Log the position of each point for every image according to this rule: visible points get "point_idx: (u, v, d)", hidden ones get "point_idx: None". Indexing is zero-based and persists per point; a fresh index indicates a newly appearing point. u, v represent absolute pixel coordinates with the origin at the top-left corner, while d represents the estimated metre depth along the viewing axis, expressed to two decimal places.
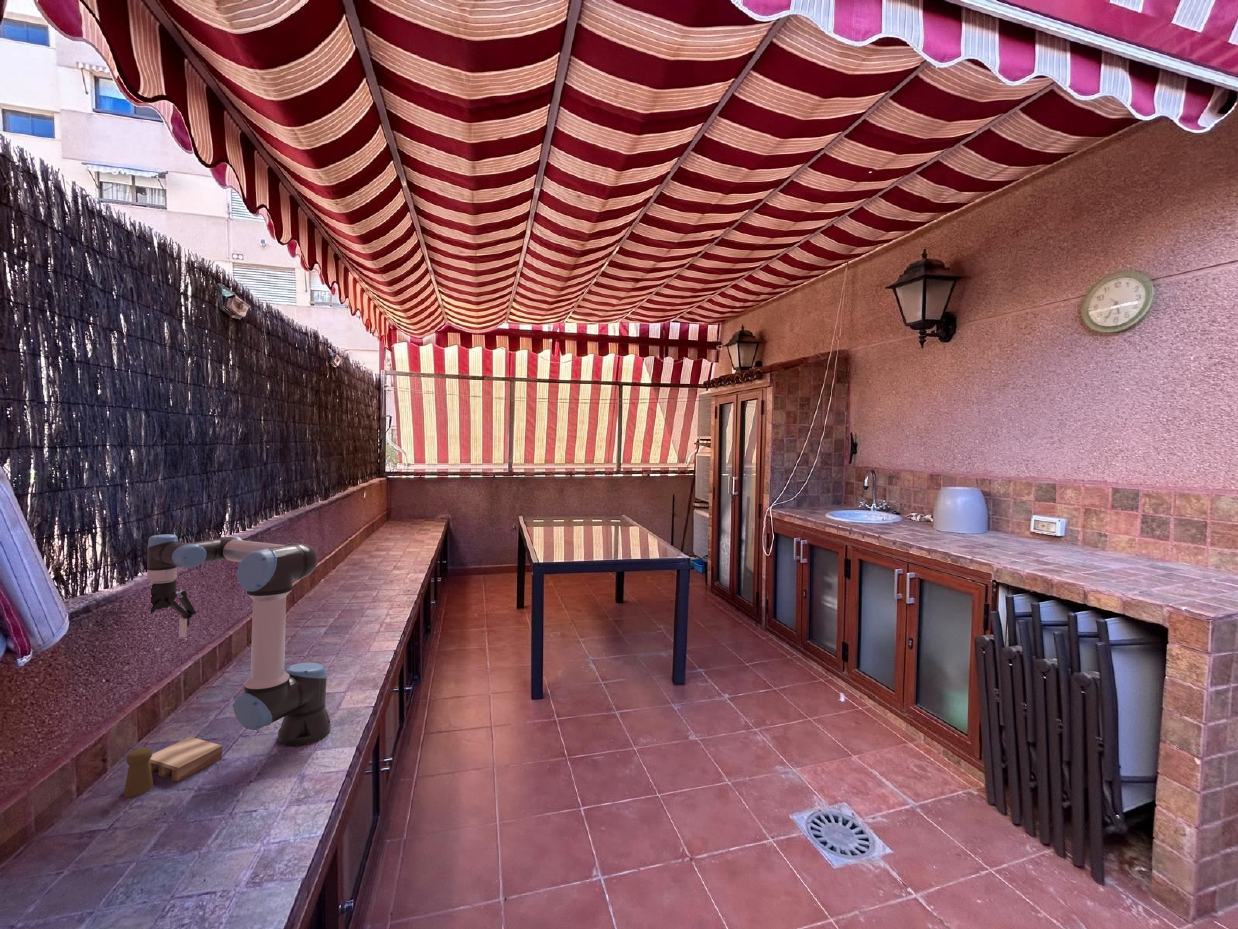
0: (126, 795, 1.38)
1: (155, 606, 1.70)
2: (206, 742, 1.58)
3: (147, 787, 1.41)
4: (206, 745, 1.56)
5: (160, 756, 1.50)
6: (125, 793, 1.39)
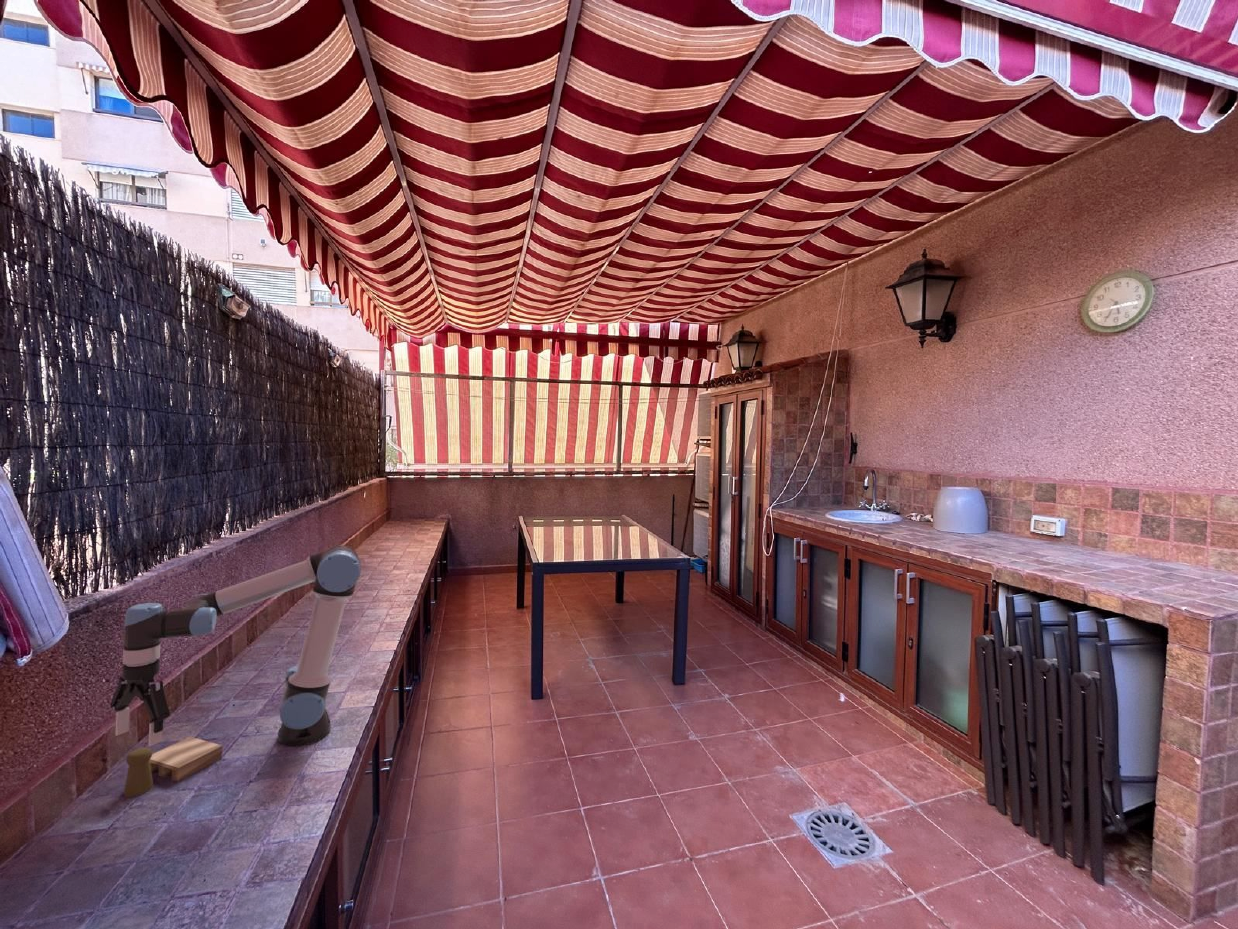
0: (126, 795, 1.38)
1: (126, 690, 1.40)
2: (206, 742, 1.58)
3: (147, 787, 1.41)
4: (206, 745, 1.56)
5: (160, 756, 1.50)
6: (125, 793, 1.39)
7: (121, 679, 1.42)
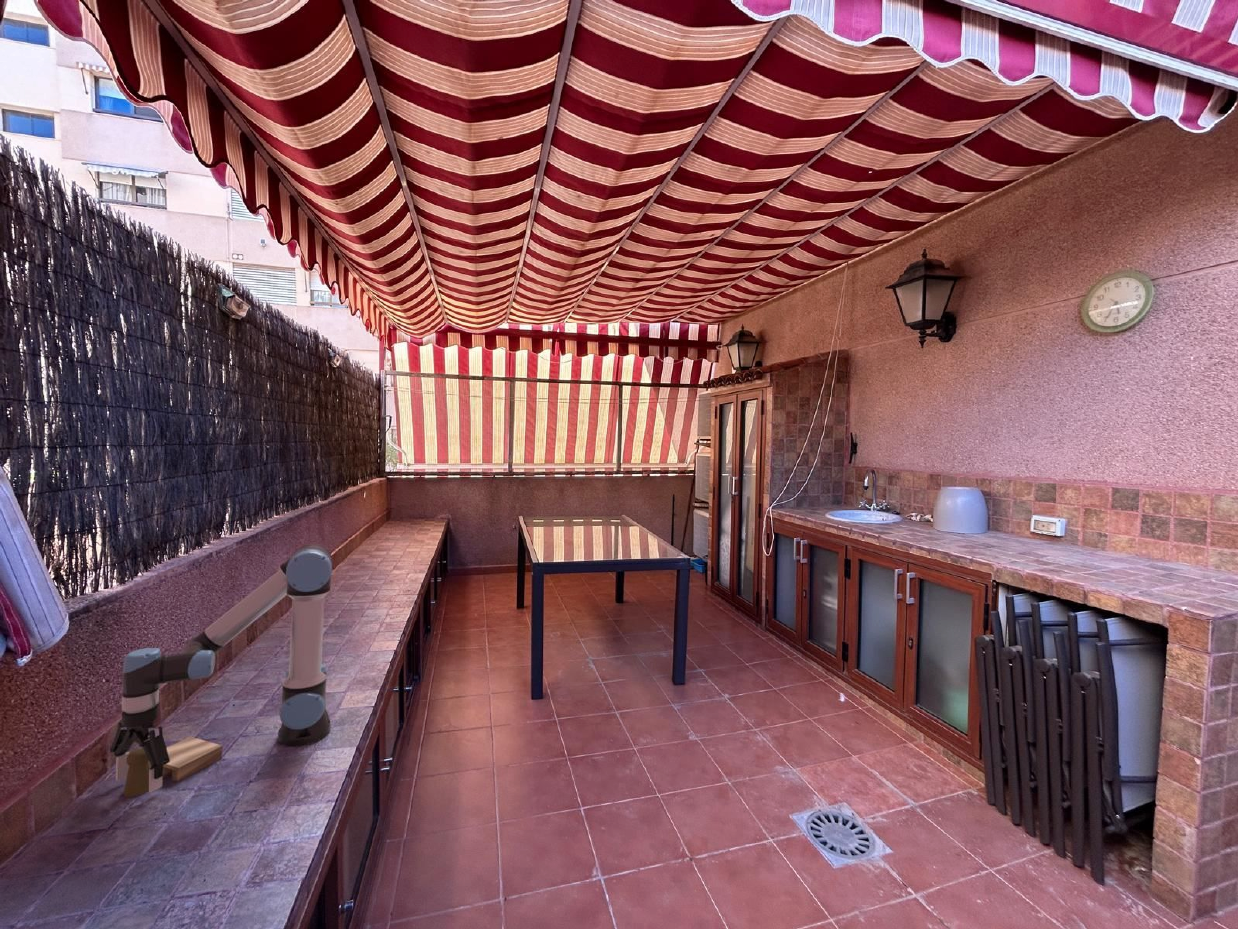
0: (126, 795, 1.38)
1: (126, 736, 1.40)
2: (206, 742, 1.58)
3: (147, 787, 1.41)
4: (206, 745, 1.56)
5: None
6: (125, 793, 1.39)
7: (120, 725, 1.42)
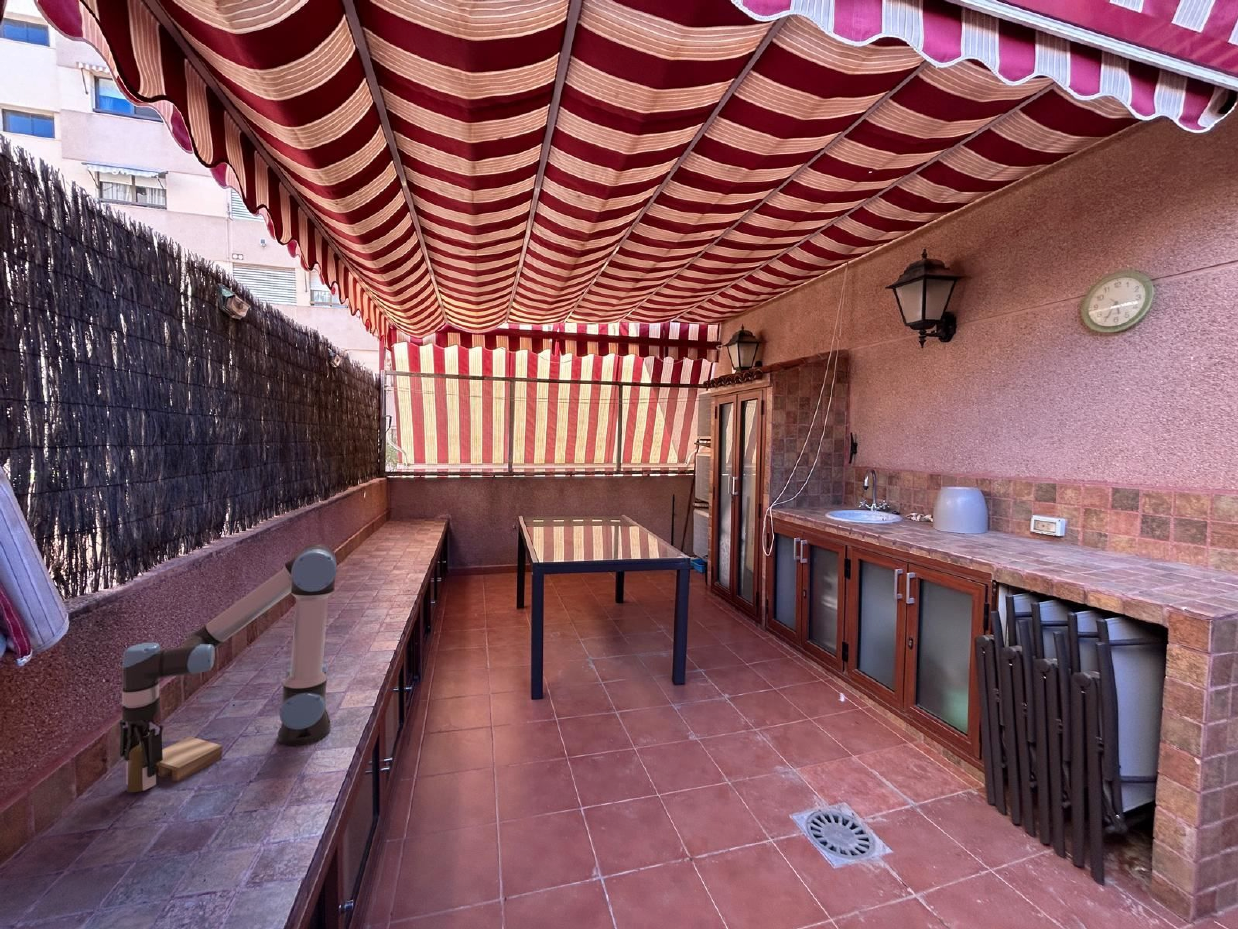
0: (129, 790, 1.39)
1: (128, 733, 1.40)
2: (206, 742, 1.58)
3: None
4: (206, 745, 1.56)
5: None
6: (128, 788, 1.39)
7: (122, 724, 1.42)
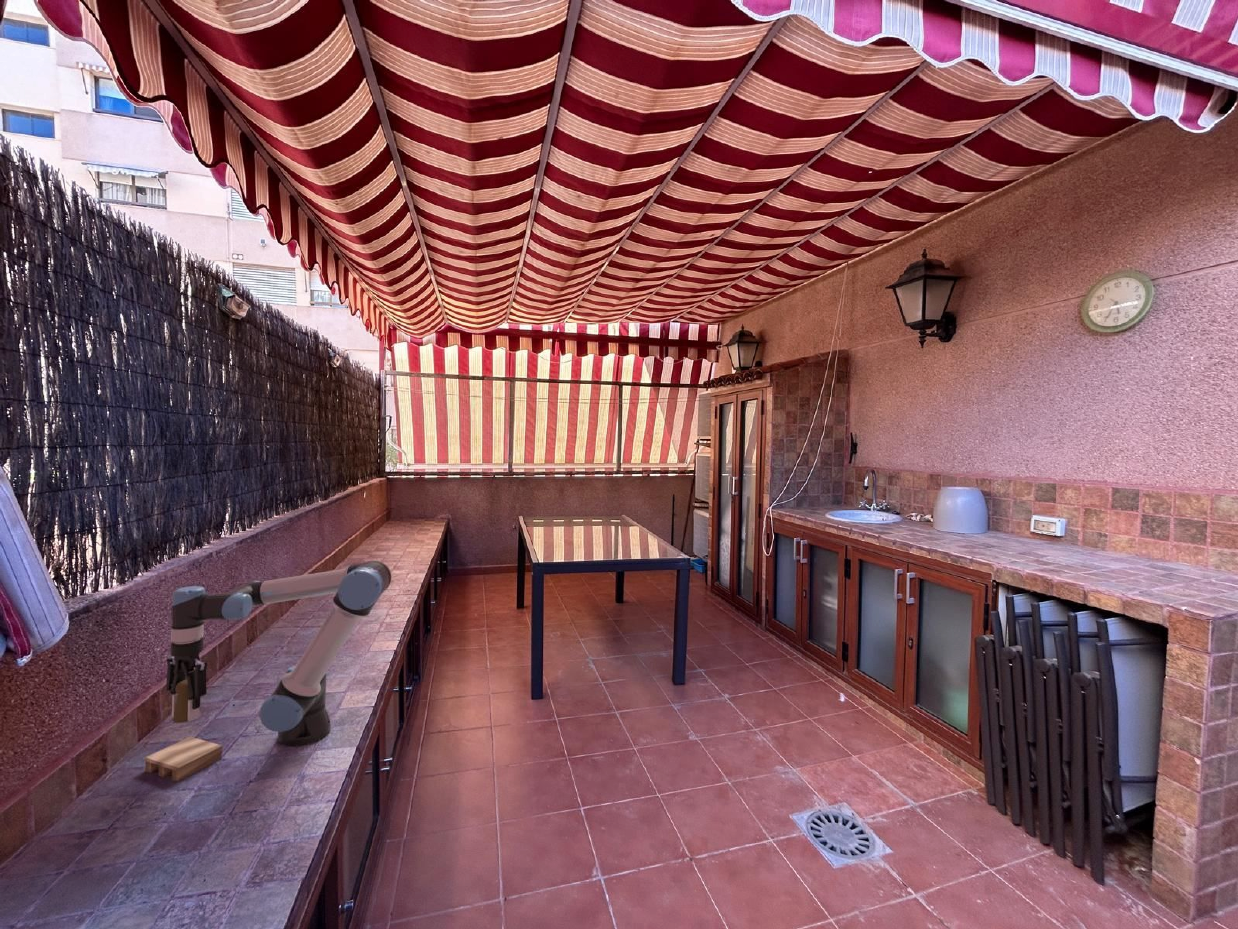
0: (175, 721, 1.50)
1: (175, 668, 1.52)
2: (206, 742, 1.58)
3: None
4: (206, 745, 1.56)
5: (160, 756, 1.50)
6: (174, 719, 1.50)
7: (169, 660, 1.53)
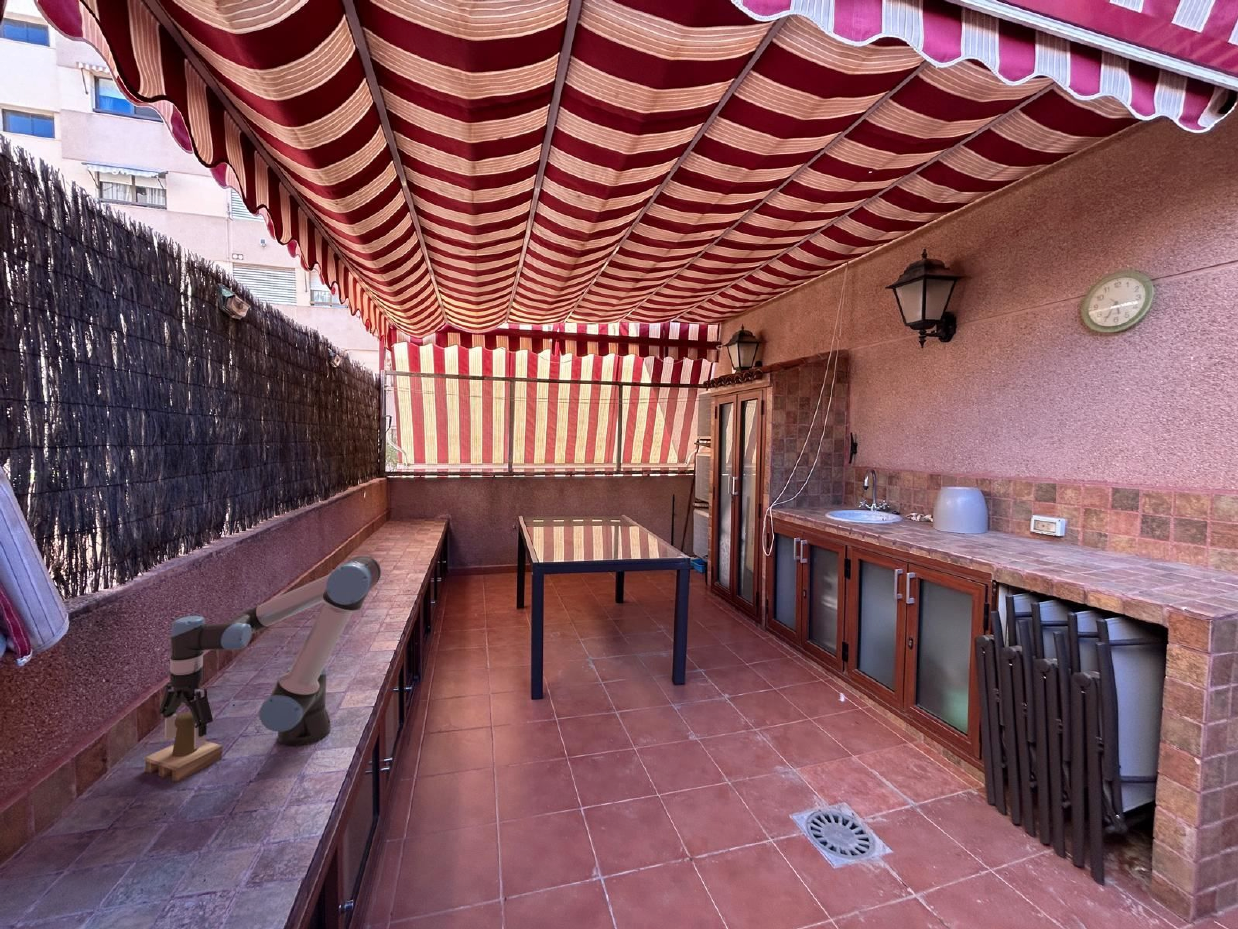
0: (175, 755, 1.50)
1: (173, 697, 1.52)
2: (206, 742, 1.58)
3: (193, 748, 1.53)
4: (206, 745, 1.56)
5: (160, 756, 1.50)
6: (174, 753, 1.51)
7: (168, 687, 1.53)
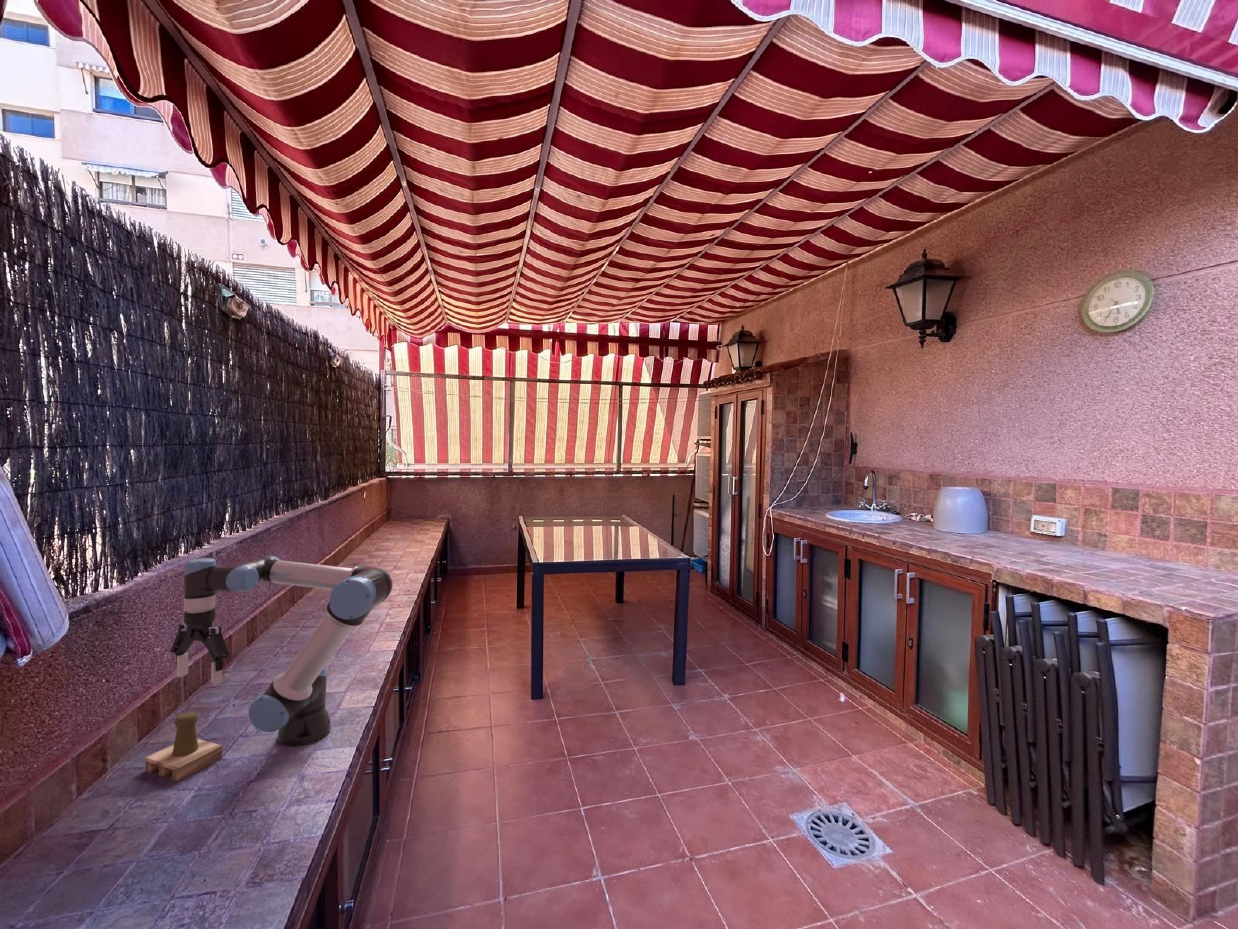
0: (175, 755, 1.50)
1: (187, 635, 1.57)
2: (206, 742, 1.58)
3: (193, 748, 1.53)
4: (206, 745, 1.56)
5: (160, 756, 1.50)
6: (174, 753, 1.51)
7: (181, 626, 1.58)
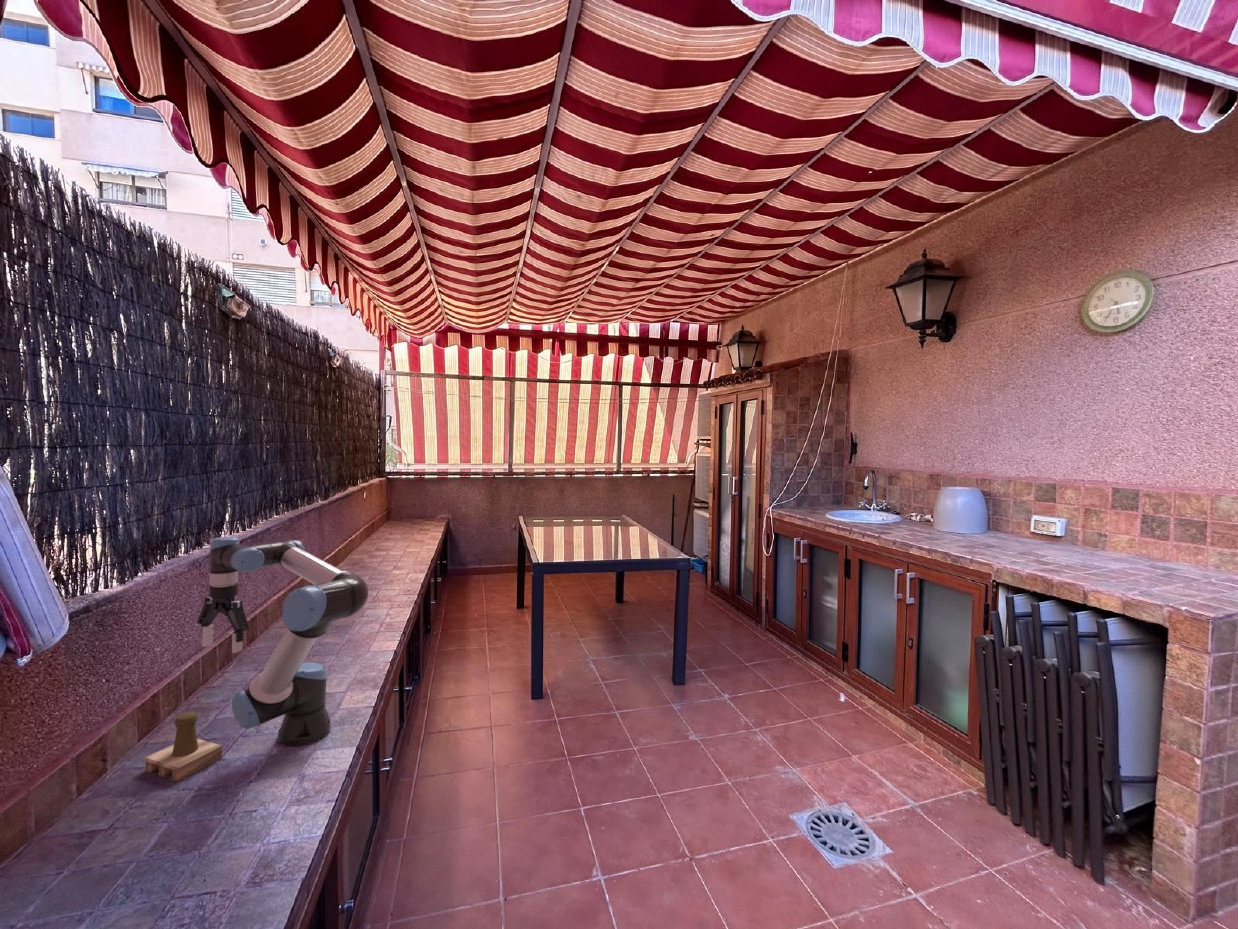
0: (175, 755, 1.50)
1: (212, 608, 1.68)
2: (206, 742, 1.58)
3: (193, 748, 1.53)
4: (206, 745, 1.56)
5: (160, 756, 1.50)
6: (174, 753, 1.51)
7: (207, 599, 1.70)
